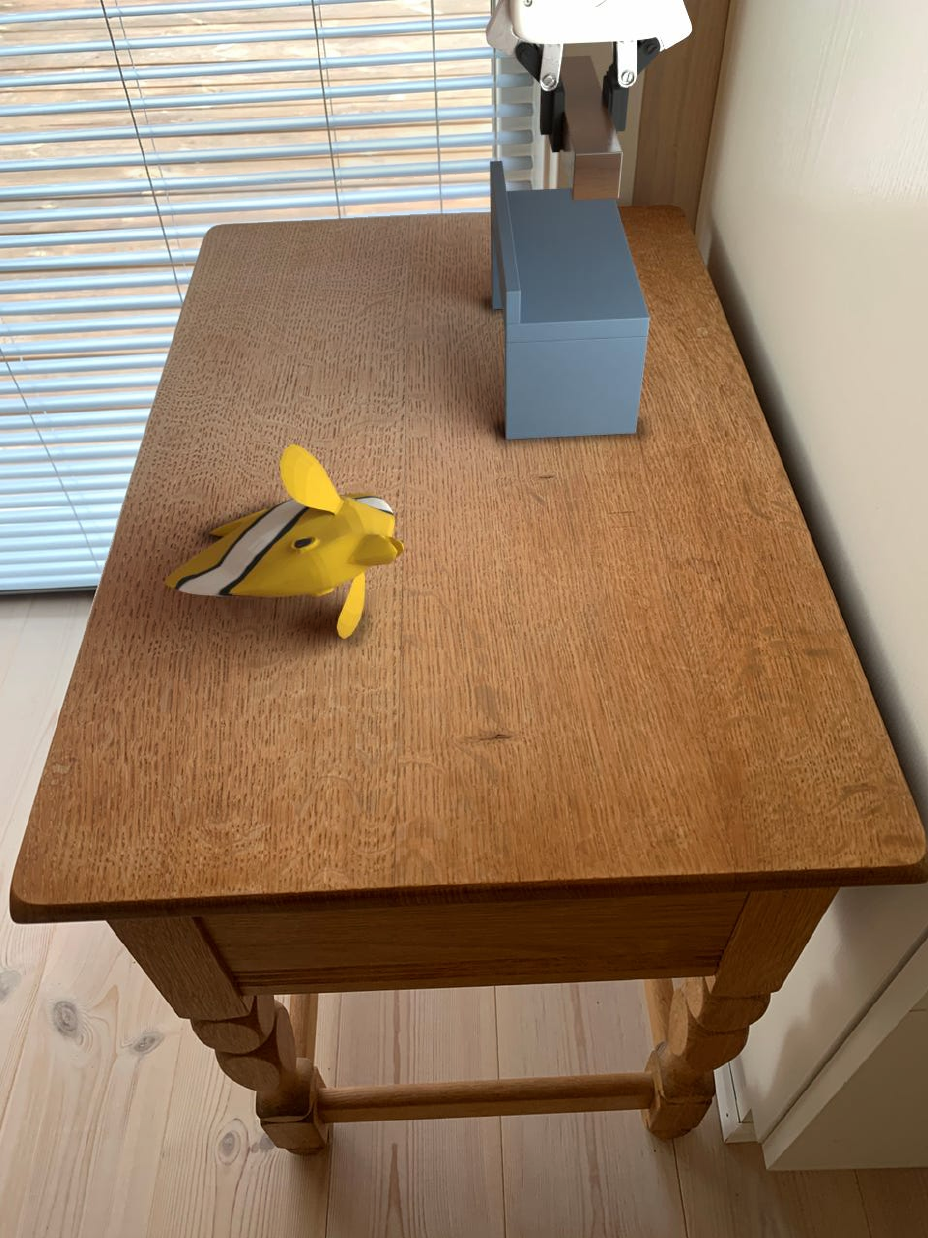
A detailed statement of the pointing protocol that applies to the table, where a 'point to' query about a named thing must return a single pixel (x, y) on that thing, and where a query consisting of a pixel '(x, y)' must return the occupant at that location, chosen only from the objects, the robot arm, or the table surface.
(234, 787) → the table surface
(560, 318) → the blue stepped block
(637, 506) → the table surface
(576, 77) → the stick
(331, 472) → the table surface
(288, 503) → the fish
